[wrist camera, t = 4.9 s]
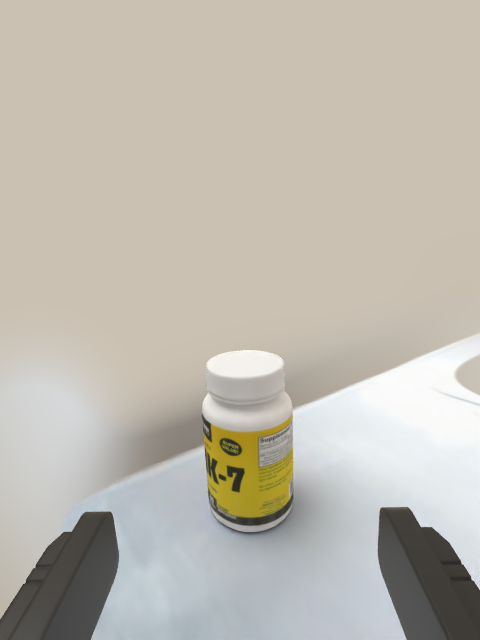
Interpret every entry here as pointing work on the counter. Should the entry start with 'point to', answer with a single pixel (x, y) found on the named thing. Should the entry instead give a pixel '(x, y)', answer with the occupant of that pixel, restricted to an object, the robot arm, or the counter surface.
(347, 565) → the counter surface
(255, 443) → the supplement bottle
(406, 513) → the robot arm
